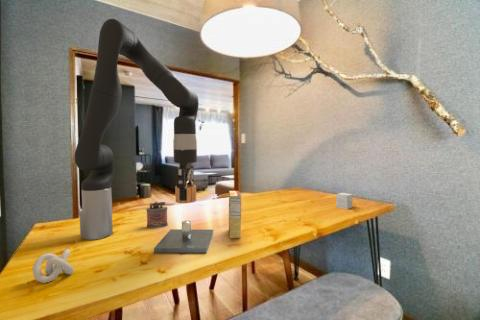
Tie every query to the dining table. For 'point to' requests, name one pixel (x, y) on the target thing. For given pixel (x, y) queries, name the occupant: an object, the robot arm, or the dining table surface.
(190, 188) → the wooden tube
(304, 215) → the dining table surface
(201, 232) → the base
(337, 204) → the skincare box
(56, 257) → the knot
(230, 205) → the candy box
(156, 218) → the lighter
